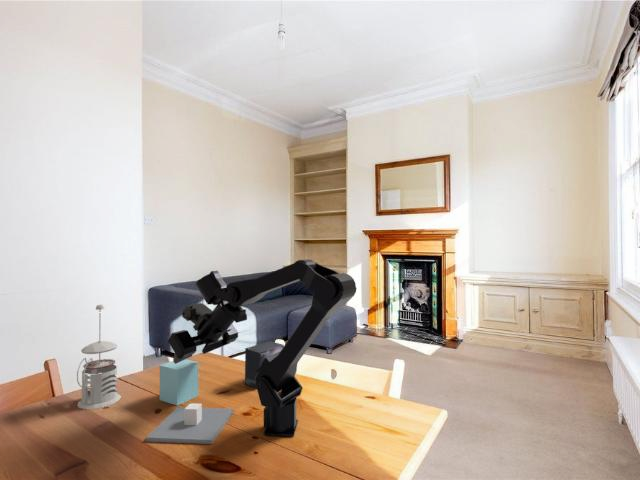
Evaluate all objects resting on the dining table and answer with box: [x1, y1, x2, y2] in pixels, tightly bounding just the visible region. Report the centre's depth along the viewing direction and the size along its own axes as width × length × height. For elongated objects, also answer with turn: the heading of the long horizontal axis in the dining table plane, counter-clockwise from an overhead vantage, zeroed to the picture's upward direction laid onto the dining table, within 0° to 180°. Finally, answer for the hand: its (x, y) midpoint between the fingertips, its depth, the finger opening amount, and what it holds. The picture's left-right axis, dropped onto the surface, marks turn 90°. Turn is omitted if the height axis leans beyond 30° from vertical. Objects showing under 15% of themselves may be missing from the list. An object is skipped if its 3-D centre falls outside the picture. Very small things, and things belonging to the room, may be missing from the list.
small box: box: [244, 340, 285, 389], centre depth 107 cm, size 11×6×10 cm, turn 143°
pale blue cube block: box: [159, 358, 199, 406], centre depth 96 cm, size 7×7×9 cm
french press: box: [76, 304, 122, 410], centre depth 93 cm, size 10×12×25 cm
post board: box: [145, 403, 235, 445], centre depth 81 cm, size 14×14×4 cm
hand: (189, 357), depth 94 cm, fingers open, 9 cm apart
